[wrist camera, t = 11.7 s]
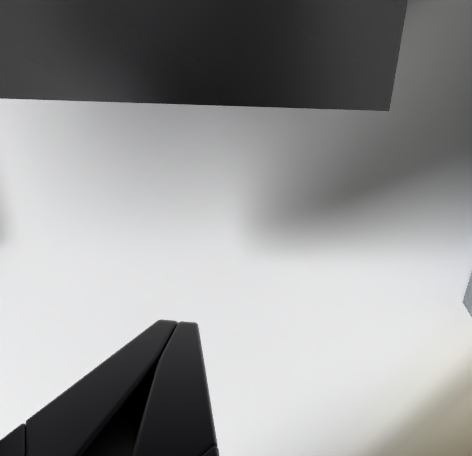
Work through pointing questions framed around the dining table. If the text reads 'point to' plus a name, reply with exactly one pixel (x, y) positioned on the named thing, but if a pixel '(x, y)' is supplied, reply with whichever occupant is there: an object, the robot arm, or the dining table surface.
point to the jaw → (203, 51)
